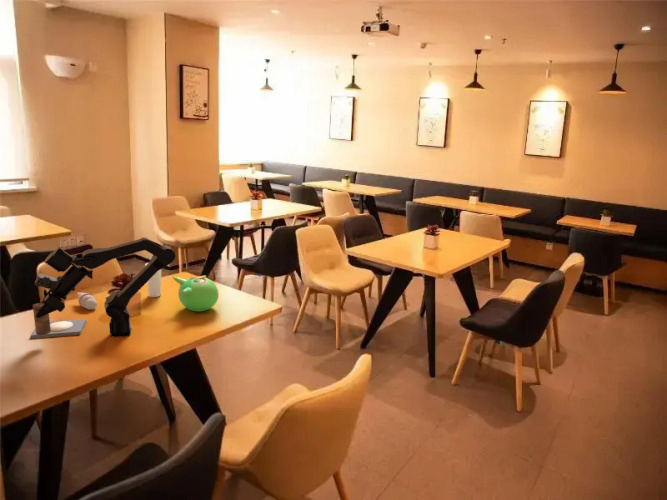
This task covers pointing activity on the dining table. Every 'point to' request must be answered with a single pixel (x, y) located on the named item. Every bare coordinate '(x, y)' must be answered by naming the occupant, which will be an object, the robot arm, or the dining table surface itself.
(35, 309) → the pepper mill
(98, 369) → the dining table surface
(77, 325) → the serving board
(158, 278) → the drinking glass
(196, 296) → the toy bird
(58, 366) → the dining table surface
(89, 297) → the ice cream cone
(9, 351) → the dining table surface
